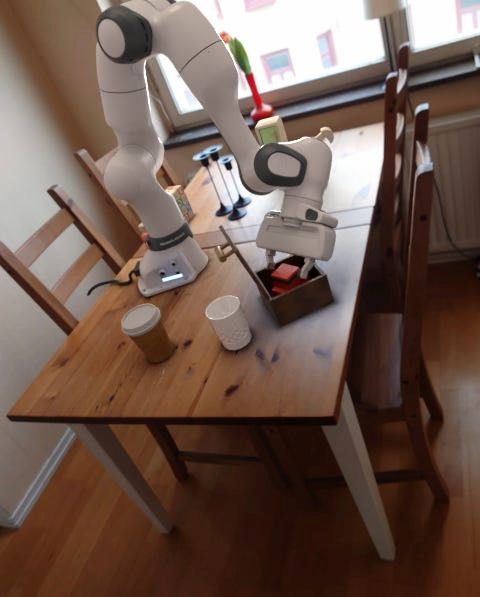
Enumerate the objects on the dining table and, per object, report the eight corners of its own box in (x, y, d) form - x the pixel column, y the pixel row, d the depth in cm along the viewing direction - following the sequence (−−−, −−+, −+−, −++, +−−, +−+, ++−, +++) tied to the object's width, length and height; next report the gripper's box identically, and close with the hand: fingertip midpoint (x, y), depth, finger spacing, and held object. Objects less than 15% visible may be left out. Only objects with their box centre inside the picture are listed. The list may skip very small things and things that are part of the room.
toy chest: (311, 274, 117) (303, 248, 113) (334, 302, 106) (326, 274, 102) (261, 297, 117) (251, 272, 112) (279, 327, 106) (269, 301, 101)
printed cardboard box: (163, 249, 156) (146, 217, 150) (149, 249, 160) (132, 218, 153) (195, 214, 170) (181, 184, 163) (181, 215, 173) (167, 185, 166)
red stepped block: (293, 310, 107) (283, 282, 103) (276, 304, 111) (266, 278, 107) (313, 289, 111) (305, 261, 107) (296, 284, 115) (287, 258, 110)
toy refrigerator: (272, 185, 167) (253, 128, 155) (276, 176, 172) (258, 120, 161) (293, 181, 164) (276, 122, 152) (297, 171, 169) (281, 114, 157)
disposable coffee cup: (138, 352, 116) (115, 316, 109) (172, 333, 118) (152, 296, 111) (147, 374, 108) (123, 336, 102) (184, 353, 110) (162, 315, 103)
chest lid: (221, 224, 104) (205, 235, 104) (237, 250, 93) (218, 262, 93) (252, 270, 112) (237, 280, 112) (270, 298, 101) (253, 310, 101)
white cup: (235, 325, 112) (220, 292, 106) (260, 332, 107) (246, 298, 101) (214, 347, 108) (198, 315, 102) (240, 356, 103) (224, 322, 97)
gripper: (257, 206, 110) (243, 264, 112) (328, 214, 96) (312, 280, 97) (274, 212, 115) (261, 268, 116) (345, 221, 101) (329, 284, 102)
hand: (285, 274), depth 107 cm, fingers open, 8 cm apart
